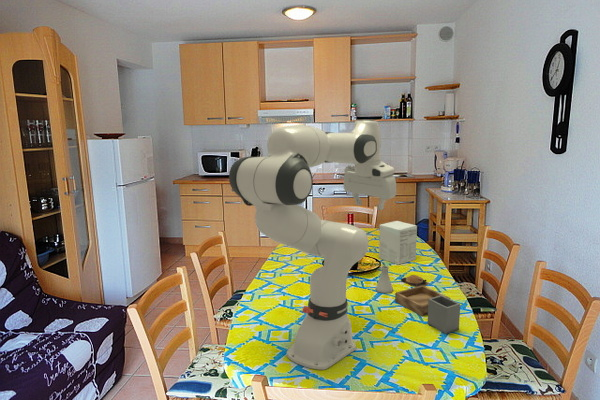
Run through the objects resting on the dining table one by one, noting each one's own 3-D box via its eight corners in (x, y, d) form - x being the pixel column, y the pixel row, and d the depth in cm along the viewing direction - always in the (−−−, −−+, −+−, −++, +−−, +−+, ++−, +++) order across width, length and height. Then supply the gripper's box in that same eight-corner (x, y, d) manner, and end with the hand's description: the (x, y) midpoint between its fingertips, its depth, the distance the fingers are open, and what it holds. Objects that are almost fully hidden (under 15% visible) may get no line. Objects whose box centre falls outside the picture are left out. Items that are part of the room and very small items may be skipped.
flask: (393, 294, 160) (394, 270, 159) (375, 293, 162) (375, 269, 160) (393, 287, 167) (393, 264, 166) (375, 286, 169) (375, 263, 167)
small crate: (458, 329, 133) (460, 304, 131) (445, 334, 130) (447, 308, 128) (440, 319, 140) (441, 295, 138) (427, 323, 137) (428, 299, 135)
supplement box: (416, 259, 200) (417, 225, 196) (398, 265, 192) (399, 229, 189) (396, 252, 210) (397, 220, 207) (378, 257, 203) (378, 224, 200)
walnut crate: (450, 307, 148) (450, 298, 148) (422, 316, 142) (422, 307, 141) (422, 293, 161) (422, 285, 160) (395, 301, 154) (395, 292, 153)
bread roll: (431, 285, 170) (431, 276, 169) (418, 290, 165) (419, 281, 165) (410, 277, 179) (411, 269, 178) (398, 282, 174) (398, 274, 173)
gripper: (338, 166, 141) (340, 204, 144) (387, 172, 126) (388, 214, 130) (350, 163, 145) (352, 200, 148) (398, 168, 130) (399, 209, 134)
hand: (369, 207), depth 139 cm, fingers open, 8 cm apart
